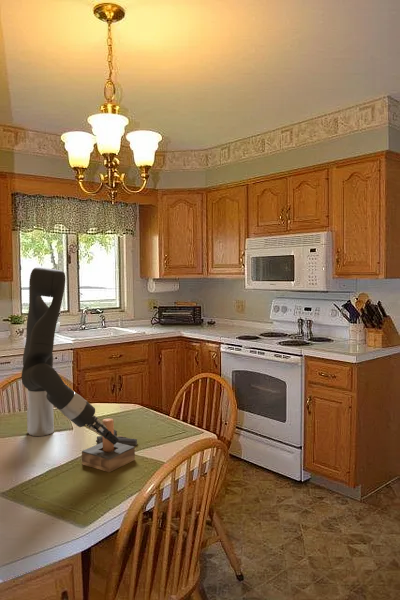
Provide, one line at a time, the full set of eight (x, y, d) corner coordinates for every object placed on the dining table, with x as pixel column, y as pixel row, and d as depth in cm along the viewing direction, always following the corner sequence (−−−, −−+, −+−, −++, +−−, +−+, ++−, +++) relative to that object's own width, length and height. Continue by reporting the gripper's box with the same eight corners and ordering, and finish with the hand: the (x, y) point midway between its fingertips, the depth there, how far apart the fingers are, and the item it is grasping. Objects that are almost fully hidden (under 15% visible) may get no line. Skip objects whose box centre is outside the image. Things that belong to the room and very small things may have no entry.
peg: (100, 457, 158) (99, 420, 158) (108, 453, 161) (107, 417, 161) (108, 459, 156) (108, 422, 156) (116, 455, 160) (115, 419, 159)
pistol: (142, 437, 185) (135, 448, 173) (103, 435, 187) (93, 445, 175) (143, 429, 185) (136, 439, 173) (103, 427, 187) (94, 437, 175)
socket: (82, 464, 157) (81, 451, 157) (108, 452, 167) (107, 440, 167) (109, 472, 151) (109, 458, 151) (134, 459, 161) (134, 446, 161)
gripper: (91, 404, 148) (129, 437, 155) (78, 394, 160) (114, 425, 167) (74, 424, 146) (114, 456, 152) (62, 413, 158) (99, 443, 165)
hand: (114, 440), depth 160 cm, fingers closed on peg, 3 cm apart
